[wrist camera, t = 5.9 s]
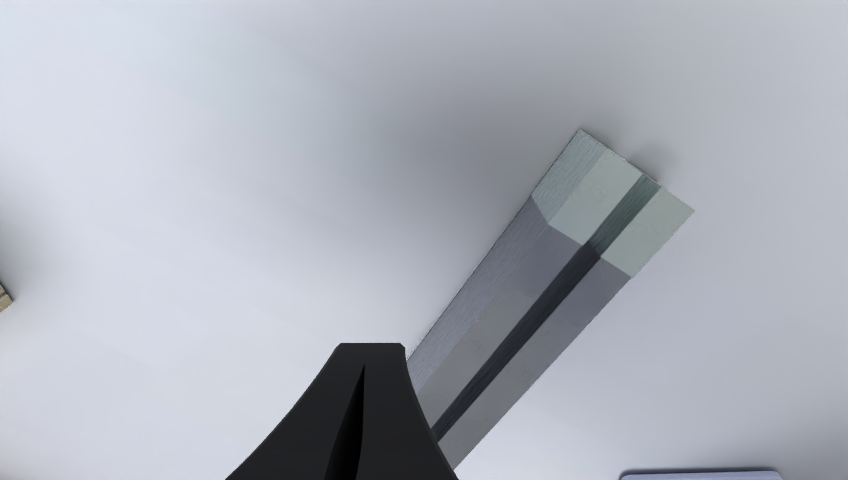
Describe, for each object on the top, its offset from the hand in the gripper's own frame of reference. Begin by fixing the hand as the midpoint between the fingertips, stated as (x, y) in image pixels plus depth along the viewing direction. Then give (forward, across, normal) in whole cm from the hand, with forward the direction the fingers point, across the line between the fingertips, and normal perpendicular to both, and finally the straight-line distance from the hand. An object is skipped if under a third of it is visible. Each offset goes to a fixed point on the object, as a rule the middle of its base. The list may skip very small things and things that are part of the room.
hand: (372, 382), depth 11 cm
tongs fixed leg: (+10, -4, +5) cm, 12 cm away
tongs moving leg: (+10, -4, +3) cm, 12 cm away
